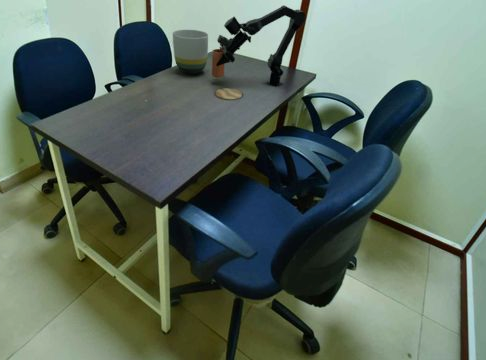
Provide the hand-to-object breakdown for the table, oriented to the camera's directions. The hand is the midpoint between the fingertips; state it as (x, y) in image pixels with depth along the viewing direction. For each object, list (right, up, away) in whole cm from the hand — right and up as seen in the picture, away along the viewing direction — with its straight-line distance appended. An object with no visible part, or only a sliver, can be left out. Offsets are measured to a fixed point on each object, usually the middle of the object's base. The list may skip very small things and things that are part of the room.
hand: (215, 63), depth 161 cm
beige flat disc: (+7, -18, -4) cm, 19 cm away
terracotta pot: (+1, -5, +4) cm, 7 cm away
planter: (-16, +1, +18) cm, 24 cm away
